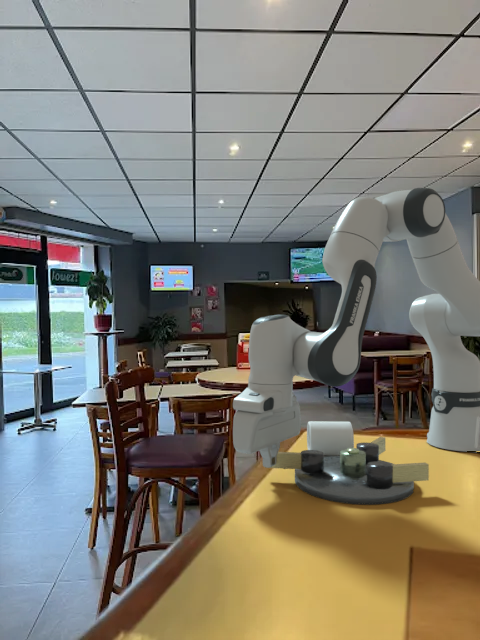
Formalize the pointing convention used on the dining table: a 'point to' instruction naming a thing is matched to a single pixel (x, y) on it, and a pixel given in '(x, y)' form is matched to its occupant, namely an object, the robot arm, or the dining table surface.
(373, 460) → the knob
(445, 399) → the robot arm
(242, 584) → the dining table surface
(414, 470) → the knob
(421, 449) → the dining table surface
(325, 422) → the mug
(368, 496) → the tribrach plate
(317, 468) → the knob
